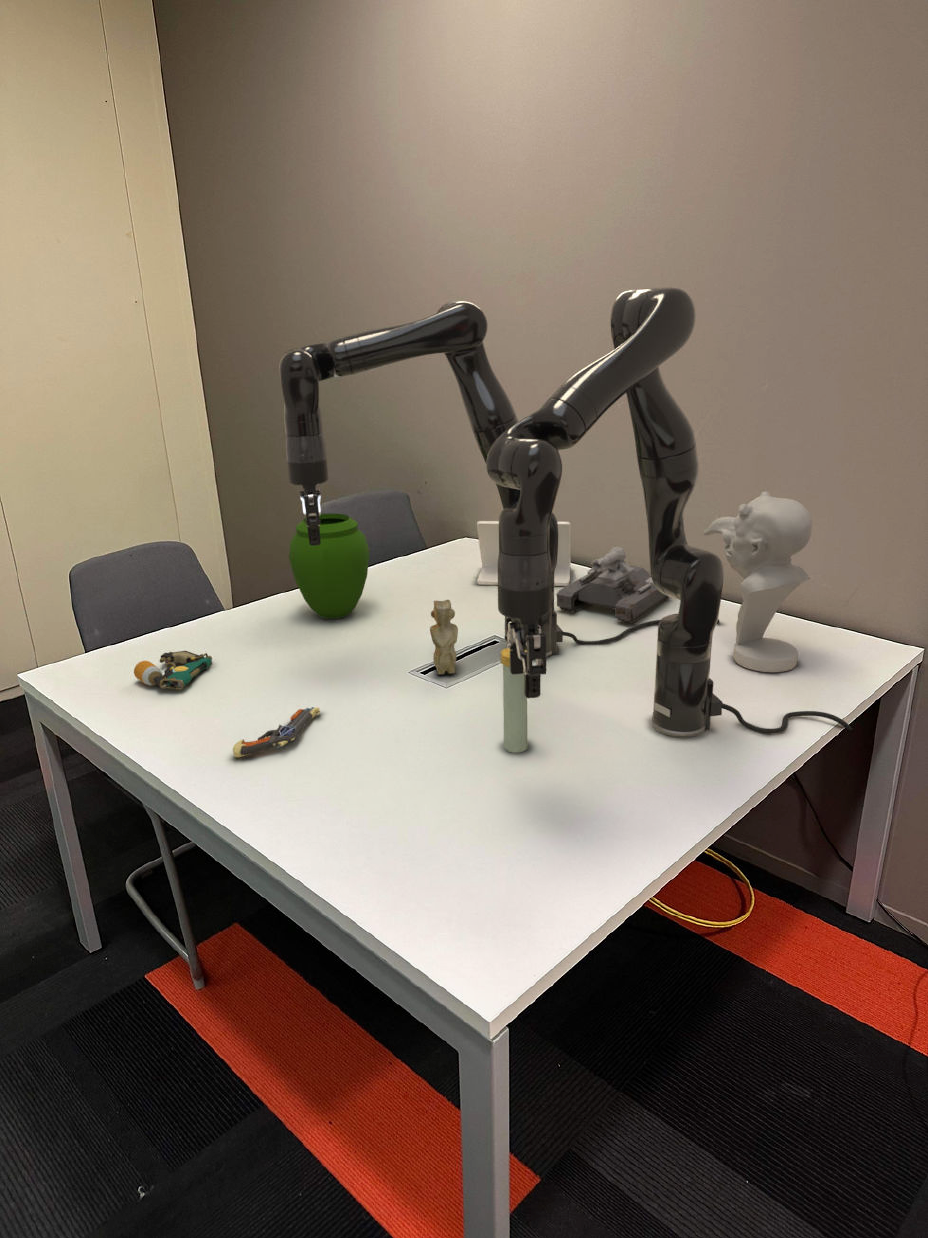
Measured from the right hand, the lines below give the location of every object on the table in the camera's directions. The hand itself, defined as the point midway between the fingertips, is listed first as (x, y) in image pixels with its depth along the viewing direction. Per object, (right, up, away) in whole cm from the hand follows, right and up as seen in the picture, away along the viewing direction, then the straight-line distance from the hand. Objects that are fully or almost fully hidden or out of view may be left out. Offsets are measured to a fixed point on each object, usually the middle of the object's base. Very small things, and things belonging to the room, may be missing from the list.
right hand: (524, 684), depth 126 cm
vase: (-41, +11, +88) cm, 98 cm away
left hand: (-39, +26, +44) cm, 64 cm away
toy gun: (-43, -12, +28) cm, 52 cm away
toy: (+29, +13, +88) cm, 94 cm away
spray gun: (-70, -3, +55) cm, 89 cm away
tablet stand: (+8, +22, +113) cm, 115 cm away
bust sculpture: (+51, +1, +56) cm, 76 cm away
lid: (0, +4, +16) cm, 17 cm away
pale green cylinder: (0, -13, +22) cm, 26 cm away
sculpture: (-13, -1, +54) cm, 55 cm away
